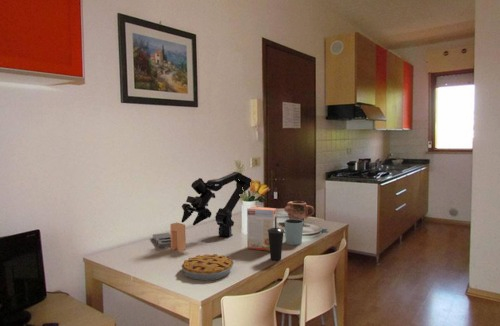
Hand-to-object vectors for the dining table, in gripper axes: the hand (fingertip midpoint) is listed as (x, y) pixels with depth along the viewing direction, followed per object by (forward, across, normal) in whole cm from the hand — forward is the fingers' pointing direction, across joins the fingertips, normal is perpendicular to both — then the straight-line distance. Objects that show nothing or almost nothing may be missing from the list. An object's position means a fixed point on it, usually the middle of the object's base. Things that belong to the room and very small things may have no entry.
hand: (187, 223), depth 189 cm
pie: (+20, +34, -2) cm, 39 cm away
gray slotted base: (+11, -17, +7) cm, 21 cm away
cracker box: (-8, +31, +25) cm, 40 cm away
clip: (+13, 0, +4) cm, 14 cm away
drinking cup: (-2, +46, +20) cm, 50 cm away
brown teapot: (-48, +14, +65) cm, 82 cm away
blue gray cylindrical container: (-21, +37, +38) cm, 57 cm away
